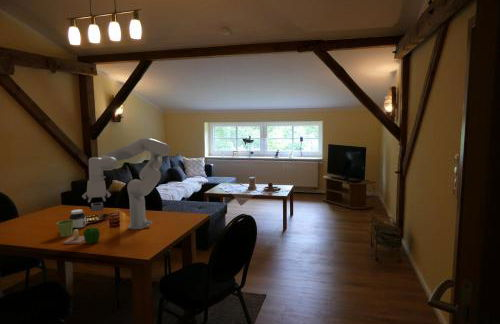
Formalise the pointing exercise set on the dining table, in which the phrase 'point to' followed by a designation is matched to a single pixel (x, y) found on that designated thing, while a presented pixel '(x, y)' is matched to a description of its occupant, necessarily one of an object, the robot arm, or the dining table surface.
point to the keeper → (75, 238)
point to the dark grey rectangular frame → (96, 207)
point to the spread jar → (78, 219)
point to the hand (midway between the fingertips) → (97, 207)
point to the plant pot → (65, 227)
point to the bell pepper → (91, 235)
